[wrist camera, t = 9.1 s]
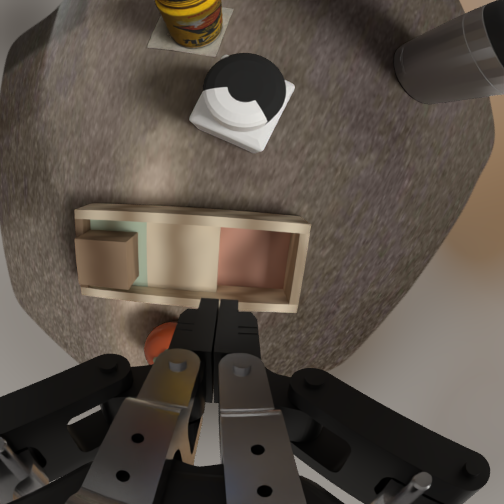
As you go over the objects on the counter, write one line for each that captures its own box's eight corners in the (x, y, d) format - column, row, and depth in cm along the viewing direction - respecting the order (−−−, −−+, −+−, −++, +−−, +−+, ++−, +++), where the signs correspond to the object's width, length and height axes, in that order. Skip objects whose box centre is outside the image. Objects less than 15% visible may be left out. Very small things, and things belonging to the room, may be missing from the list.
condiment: (215, 57, 27) (208, 8, 16) (147, 48, 26) (111, 3, 14) (233, 10, 25) (236, -48, 14) (167, 1, 24) (144, -52, 12)
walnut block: (137, 232, 30) (125, 242, 26) (139, 275, 31) (128, 289, 28) (90, 229, 29) (74, 238, 26) (93, 270, 31) (79, 284, 27)
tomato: (199, 361, 39) (195, 401, 31) (148, 349, 37) (134, 386, 30) (210, 318, 36) (206, 356, 29) (154, 304, 35) (138, 339, 28)
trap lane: (300, 216, 33) (310, 224, 29) (289, 295, 36) (296, 312, 32) (92, 203, 31) (74, 209, 27) (96, 280, 34) (81, 294, 30)
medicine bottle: (225, 74, 28) (222, 30, 16) (283, 100, 29) (311, 69, 18) (196, 128, 29) (177, 110, 18) (255, 154, 31) (269, 150, 19)
